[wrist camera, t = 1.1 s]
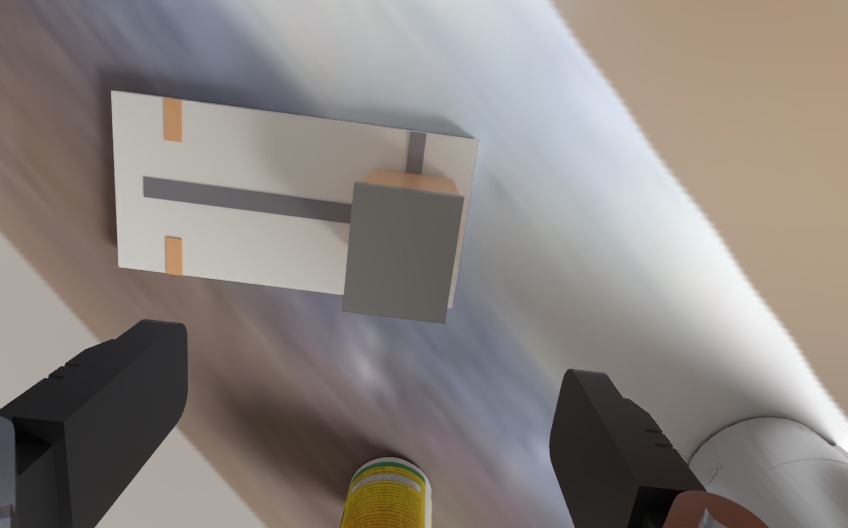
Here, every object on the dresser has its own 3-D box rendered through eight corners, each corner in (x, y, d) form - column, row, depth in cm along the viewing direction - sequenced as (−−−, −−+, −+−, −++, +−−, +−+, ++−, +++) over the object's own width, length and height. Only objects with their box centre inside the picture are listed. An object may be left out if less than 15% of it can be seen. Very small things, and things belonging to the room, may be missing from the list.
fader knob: (455, 177, 25) (464, 198, 19) (440, 275, 27) (444, 324, 21) (371, 166, 25) (353, 183, 19) (361, 265, 27) (342, 311, 21)
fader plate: (476, 138, 27) (479, 140, 25) (451, 298, 29) (452, 309, 28) (128, 91, 26) (109, 90, 24) (134, 259, 29) (117, 267, 27)
